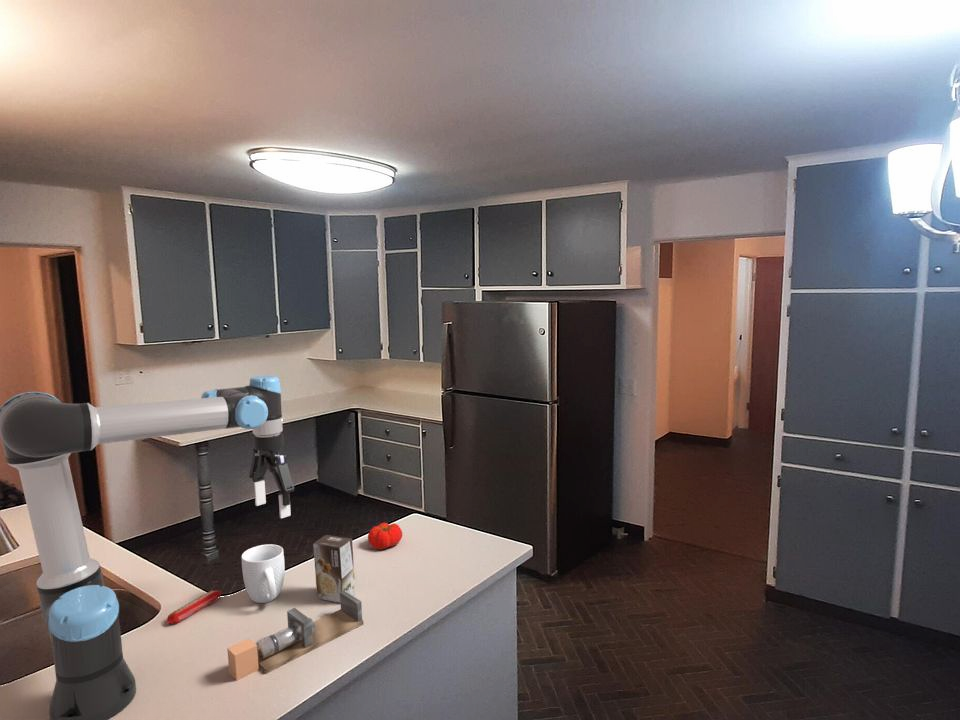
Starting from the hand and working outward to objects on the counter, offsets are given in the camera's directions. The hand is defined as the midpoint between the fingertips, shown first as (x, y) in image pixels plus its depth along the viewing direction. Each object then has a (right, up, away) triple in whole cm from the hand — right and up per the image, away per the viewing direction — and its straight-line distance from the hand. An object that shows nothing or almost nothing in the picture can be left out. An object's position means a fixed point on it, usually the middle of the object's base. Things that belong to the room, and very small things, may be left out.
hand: (272, 510), depth 159 cm
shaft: (+10, -27, -20) cm, 35 cm away
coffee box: (+16, -25, +5) cm, 30 cm away
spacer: (+3, -29, -27) cm, 40 cm away
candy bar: (-20, -27, -1) cm, 34 cm away
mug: (-3, -26, +4) cm, 26 cm away
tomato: (+25, -21, +36) cm, 49 cm away
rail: (+14, -28, -16) cm, 35 cm away
